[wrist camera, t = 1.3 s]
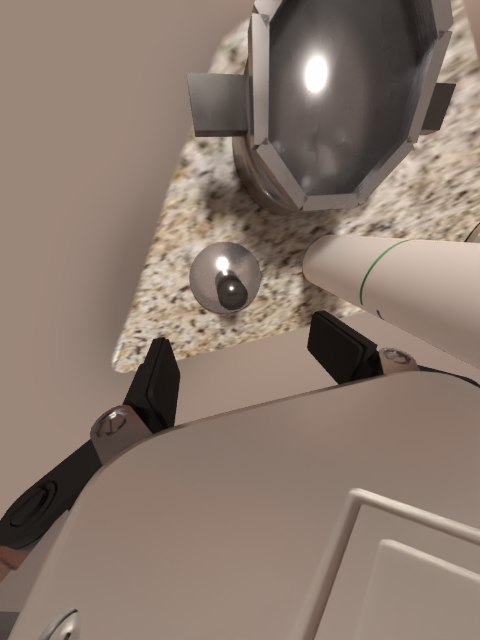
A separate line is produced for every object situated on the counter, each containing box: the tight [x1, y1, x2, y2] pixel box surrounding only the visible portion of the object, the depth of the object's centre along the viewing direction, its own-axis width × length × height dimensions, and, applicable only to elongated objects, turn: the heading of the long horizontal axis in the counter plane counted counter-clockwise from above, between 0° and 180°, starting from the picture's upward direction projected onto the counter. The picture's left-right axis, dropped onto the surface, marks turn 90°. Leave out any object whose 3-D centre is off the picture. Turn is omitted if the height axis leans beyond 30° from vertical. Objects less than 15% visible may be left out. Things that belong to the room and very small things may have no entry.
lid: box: [189, 242, 261, 313], centre depth 21 cm, size 10×10×7 cm
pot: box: [187, 0, 456, 216], centre depth 15 cm, size 21×14×8 cm, turn 94°
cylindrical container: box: [303, 235, 480, 369], centre depth 15 cm, size 7×7×25 cm
